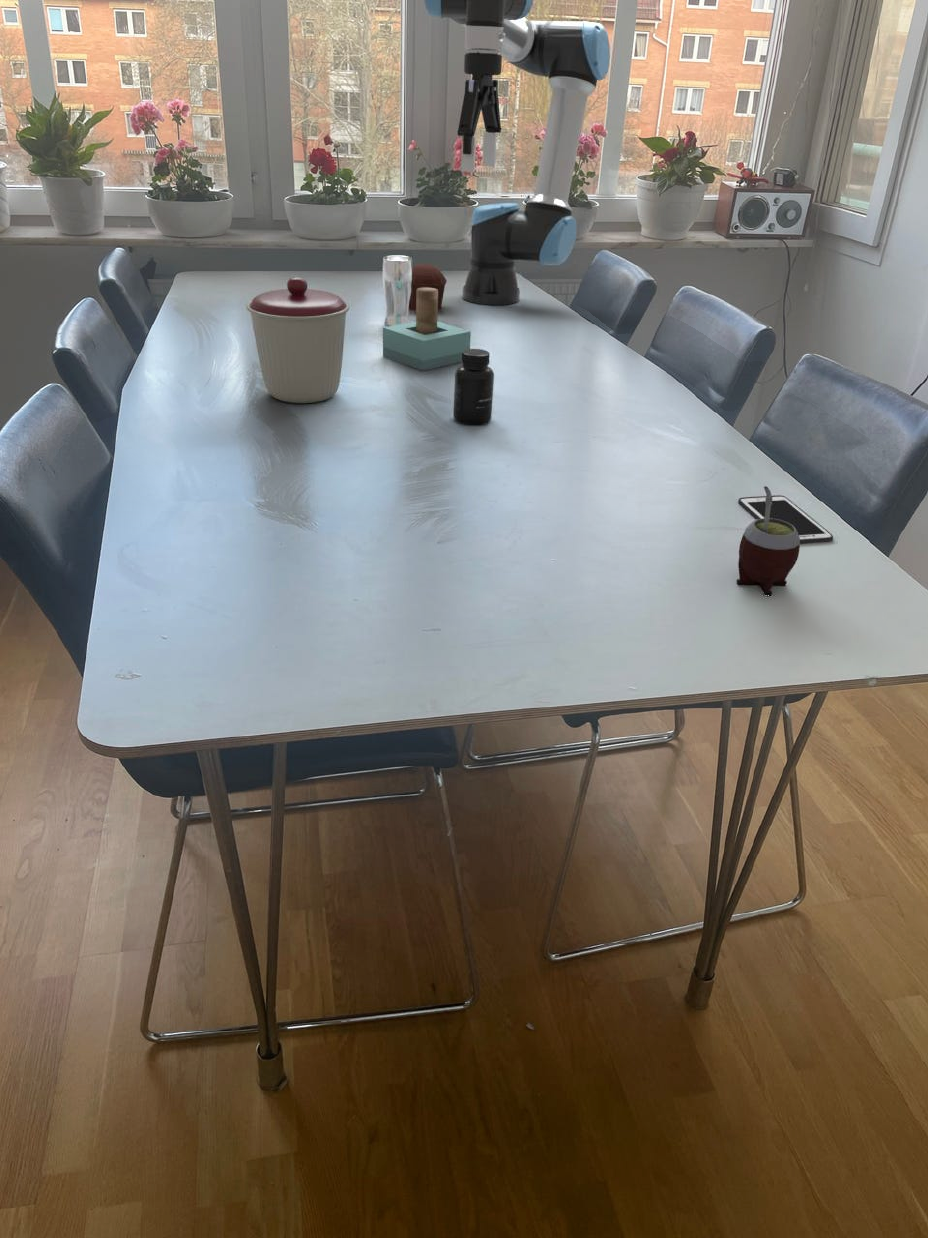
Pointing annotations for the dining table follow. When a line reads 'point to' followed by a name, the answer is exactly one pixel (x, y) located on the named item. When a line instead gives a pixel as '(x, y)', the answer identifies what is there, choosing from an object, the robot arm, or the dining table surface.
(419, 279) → the muffin
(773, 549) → the mate gourd
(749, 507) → the cell phone
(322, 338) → the canister
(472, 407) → the supplement bottle
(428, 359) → the socket block
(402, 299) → the beer glass
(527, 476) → the dining table surface
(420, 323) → the dowel pin
